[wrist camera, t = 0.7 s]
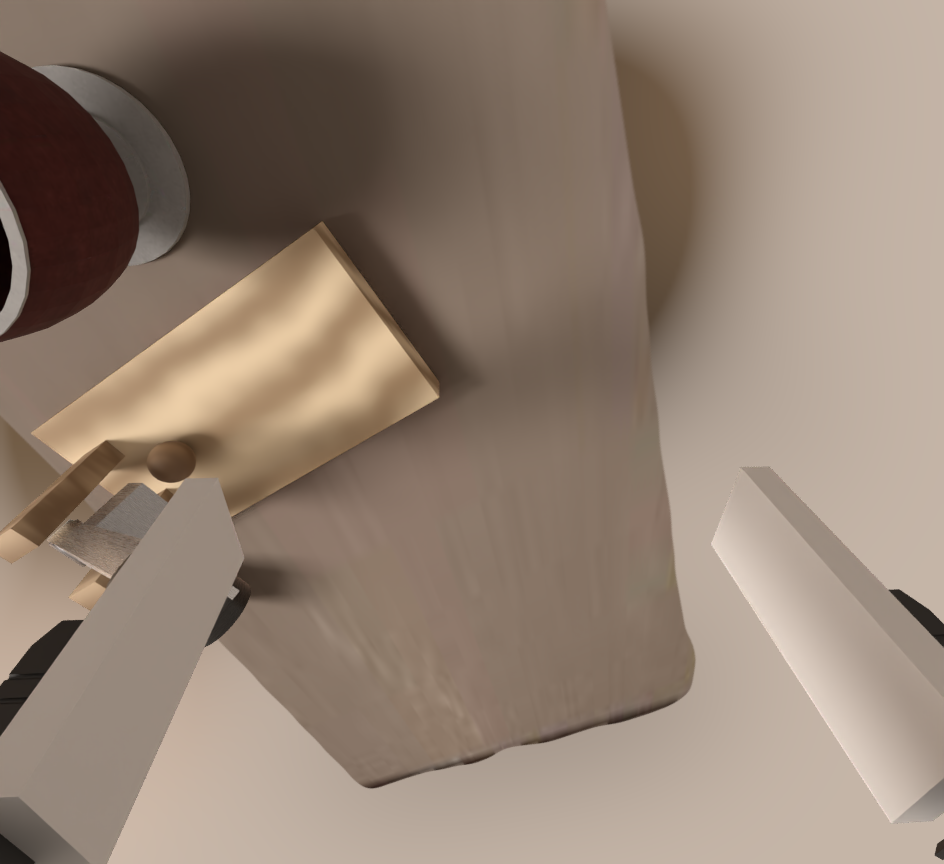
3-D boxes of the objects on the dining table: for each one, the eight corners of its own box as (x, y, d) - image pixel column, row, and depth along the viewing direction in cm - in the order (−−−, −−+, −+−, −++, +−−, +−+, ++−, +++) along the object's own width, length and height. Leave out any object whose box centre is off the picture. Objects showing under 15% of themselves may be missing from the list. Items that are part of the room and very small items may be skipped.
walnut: (150, 445, 43) (128, 469, 40) (179, 425, 42) (159, 449, 39) (183, 472, 44) (164, 498, 41) (212, 454, 44) (194, 479, 41)
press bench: (54, 415, 44) (-89, 521, 32) (322, 220, 37) (265, 265, 25) (194, 524, 52) (121, 643, 40) (439, 382, 44) (438, 475, 32)
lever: (147, 511, 43) (82, 573, 39) (103, 477, 41) (30, 541, 37) (306, 530, 24) (208, 655, 20) (239, 469, 22) (116, 598, 18)
